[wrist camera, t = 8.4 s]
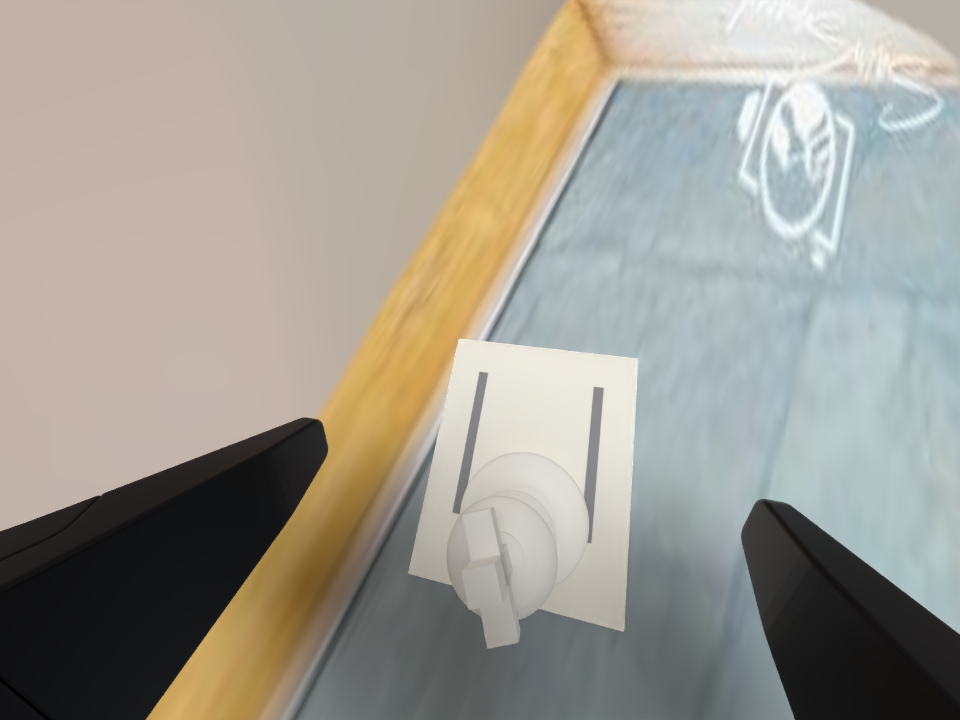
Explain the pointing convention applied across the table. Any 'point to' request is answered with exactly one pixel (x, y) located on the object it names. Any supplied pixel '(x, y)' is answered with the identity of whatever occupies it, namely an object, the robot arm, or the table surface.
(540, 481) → the chess piece
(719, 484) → the table surface
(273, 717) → the table surface
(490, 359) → the slotted cream plate
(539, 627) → the table surface
